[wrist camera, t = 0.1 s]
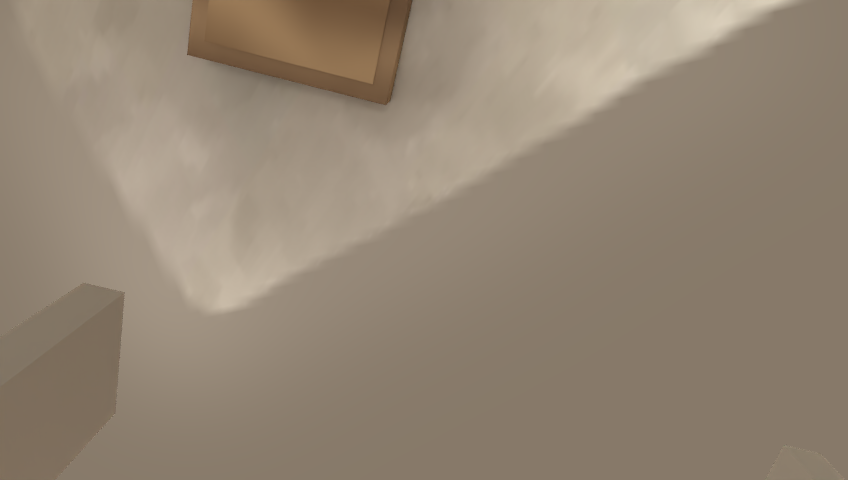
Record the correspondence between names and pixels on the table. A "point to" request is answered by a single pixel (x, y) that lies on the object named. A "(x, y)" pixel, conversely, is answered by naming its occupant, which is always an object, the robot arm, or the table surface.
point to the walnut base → (306, 41)
